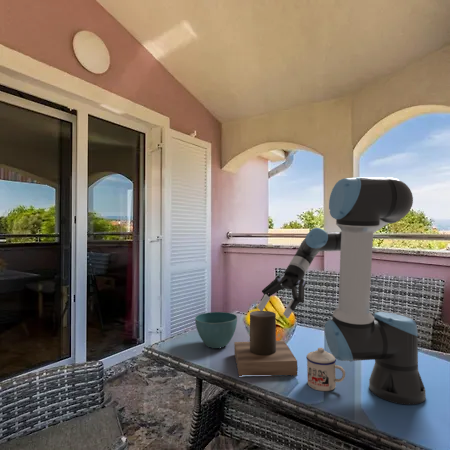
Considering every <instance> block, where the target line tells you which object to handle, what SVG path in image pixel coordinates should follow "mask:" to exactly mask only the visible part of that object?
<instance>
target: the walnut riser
mask: <svg viewBox="0 0 450 450" xmlns="http://www.w3.org/2000/svg"><path fill="white" fill-rule="evenodd" d="M285 341H286V340H276V352H275V353H274V354H271V355H258V354H254V353H252V352H251V351H250V341H234V344H233V346H234V359H235V358H236V360H235V364H236V363H237V365H236V369H237V368H238V370H237V374H239V375H238V377H239V376H242V375H291V376H290V377H293V376H295V375H297V376H298V360H297V358H296V356H295V355H294V354H293V352H292V350H291V349H290V347H289V346H288V345H287V343H286V342H285ZM292 375H293V376H292Z"/></svg>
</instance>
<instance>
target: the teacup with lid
mask: <svg viewBox="0 0 450 450" xmlns="http://www.w3.org/2000/svg"><path fill="white" fill-rule="evenodd" d="M306 362H307V363H306V365H307V367H306V369H307V371H306V372H307V374H306V375H307V378H306V379H307V385H308V386H309V387H310V388H312V389H313V390H316V391H319V392H329V391H330V392H331V391H333V390H334V389H335V388H336V386H337V385H336V383H341V382H343V381H344V380H345V378H346V370H345V369H344V368H343V367H342V366H341V365H338V364H337V365H336V362H337V359H336V358H335V357H334V356H333V355H332V353H331V352H328V351H326V350H325V349H324V348H323V347H317V350H314V351H311V352H308V353H307V355H306ZM336 369H338V370H340V372H341V374H342V376H341V378H336Z"/></svg>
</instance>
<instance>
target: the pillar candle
mask: <svg viewBox="0 0 450 450" xmlns="http://www.w3.org/2000/svg"><path fill="white" fill-rule="evenodd" d="M276 316H277V314H276V313H275V312H274V311H270V310H269V311H268V310H264V309H263V310H262V311H260V310H255V311H254V310H253V311H251V312H249V342H250V351H251V352H252V353H254V354H258V355H271V354H274V353H275V352H276V341H277V334H276V333H277V327H276V325H277V322H276Z"/></svg>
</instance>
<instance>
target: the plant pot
mask: <svg viewBox="0 0 450 450" xmlns="http://www.w3.org/2000/svg"><path fill="white" fill-rule="evenodd" d="M194 320H195V321H194V322H195V326H196V330H197V333H198V335H199V338H200V340H202V342H203V343H204V345H205V346H206V347H207V346H208V348H209V347H212V348H211V349H213V348H219V349H221V348H220V347H224V346H225V347H227V346H228V344H229V343H230V342H231V340H232V338H233V336H234V334H235V333H236V330H237V323H238V316H237V315H236V314H235V313H231V312H226V311H225V312H223V311H210V312H204V313H201V314H197V315H196V316H195V318H194ZM226 345H227V346H226ZM225 347H224V348H225Z"/></svg>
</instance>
